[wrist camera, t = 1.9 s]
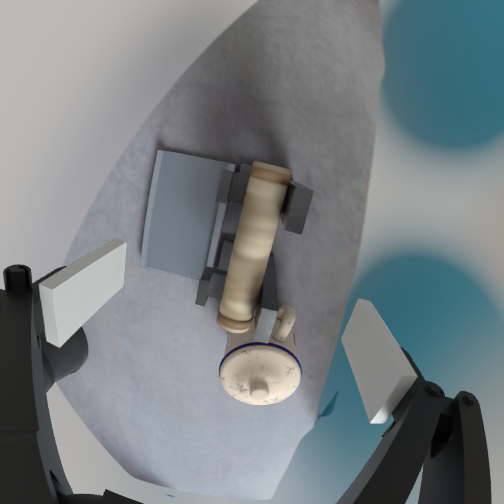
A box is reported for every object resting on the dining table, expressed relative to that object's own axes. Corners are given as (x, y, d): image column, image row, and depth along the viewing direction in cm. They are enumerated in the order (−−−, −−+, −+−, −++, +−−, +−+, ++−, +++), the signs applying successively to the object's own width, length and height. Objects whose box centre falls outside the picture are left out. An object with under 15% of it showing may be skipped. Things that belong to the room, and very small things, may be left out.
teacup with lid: (275, 368, 39) (277, 429, 28) (217, 345, 39) (202, 405, 28) (319, 303, 36) (338, 358, 25) (254, 274, 35) (249, 323, 24)
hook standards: (214, 268, 35) (185, 329, 22) (238, 162, 31) (218, 159, 18) (266, 281, 35) (266, 348, 22) (294, 176, 32) (315, 184, 18)
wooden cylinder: (242, 314, 27) (255, 332, 25) (212, 314, 26) (223, 334, 23) (280, 167, 23) (300, 172, 21) (247, 159, 22) (264, 162, 19)
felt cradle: (144, 263, 36) (139, 267, 34) (162, 150, 31) (157, 149, 30) (211, 280, 36) (208, 285, 34) (236, 164, 32) (235, 164, 30)
